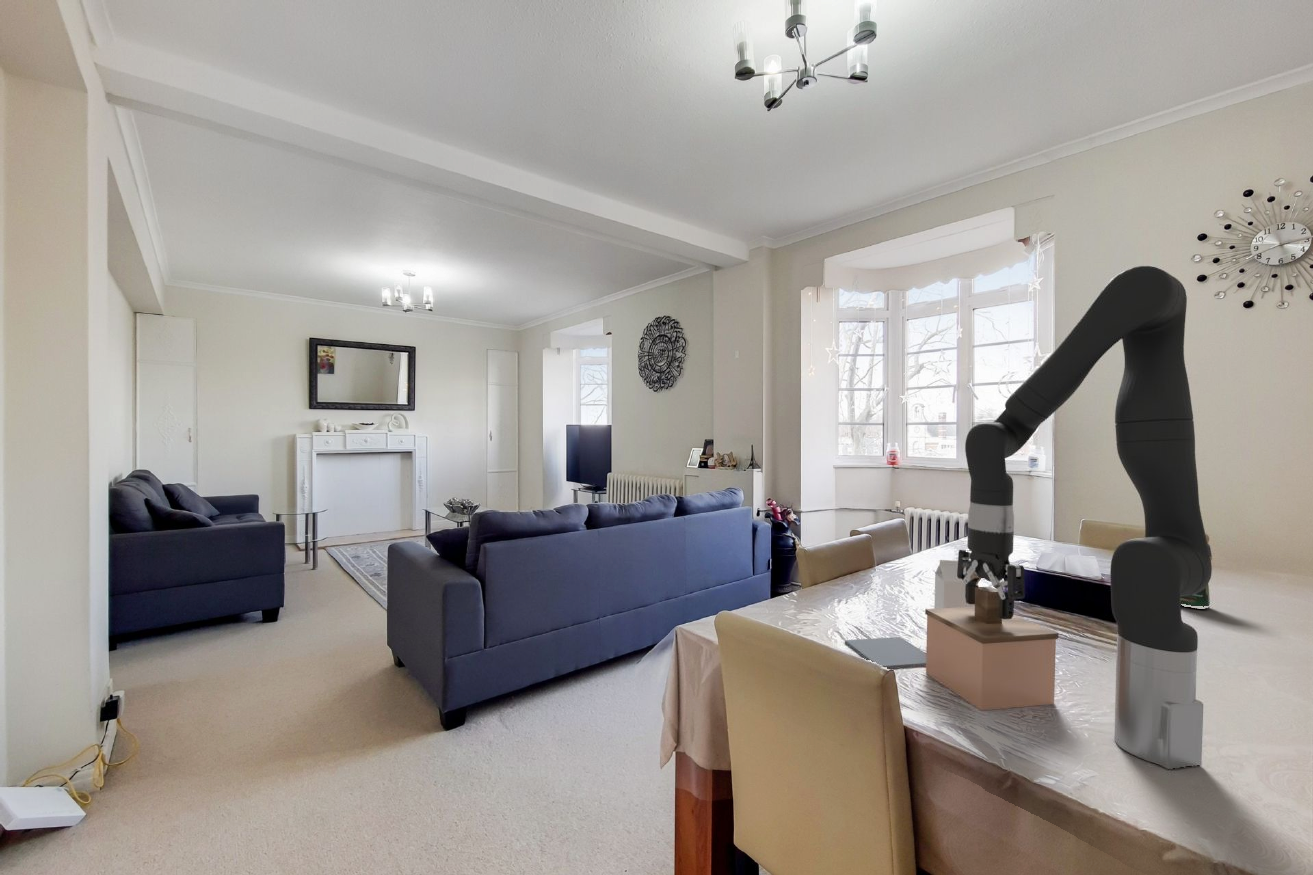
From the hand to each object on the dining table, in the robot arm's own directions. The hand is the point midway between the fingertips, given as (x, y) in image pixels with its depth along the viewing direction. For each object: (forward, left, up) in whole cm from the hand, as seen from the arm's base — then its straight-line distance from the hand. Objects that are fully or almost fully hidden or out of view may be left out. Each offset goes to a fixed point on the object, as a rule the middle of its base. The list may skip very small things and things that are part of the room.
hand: (987, 610), depth 107 cm
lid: (0, 0, -3) cm, 3 cm away
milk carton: (+21, -10, -15) cm, 28 cm away
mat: (+17, +9, -15) cm, 25 cm away
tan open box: (0, 0, -15) cm, 15 cm away
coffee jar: (+35, -95, -15) cm, 102 cm away
